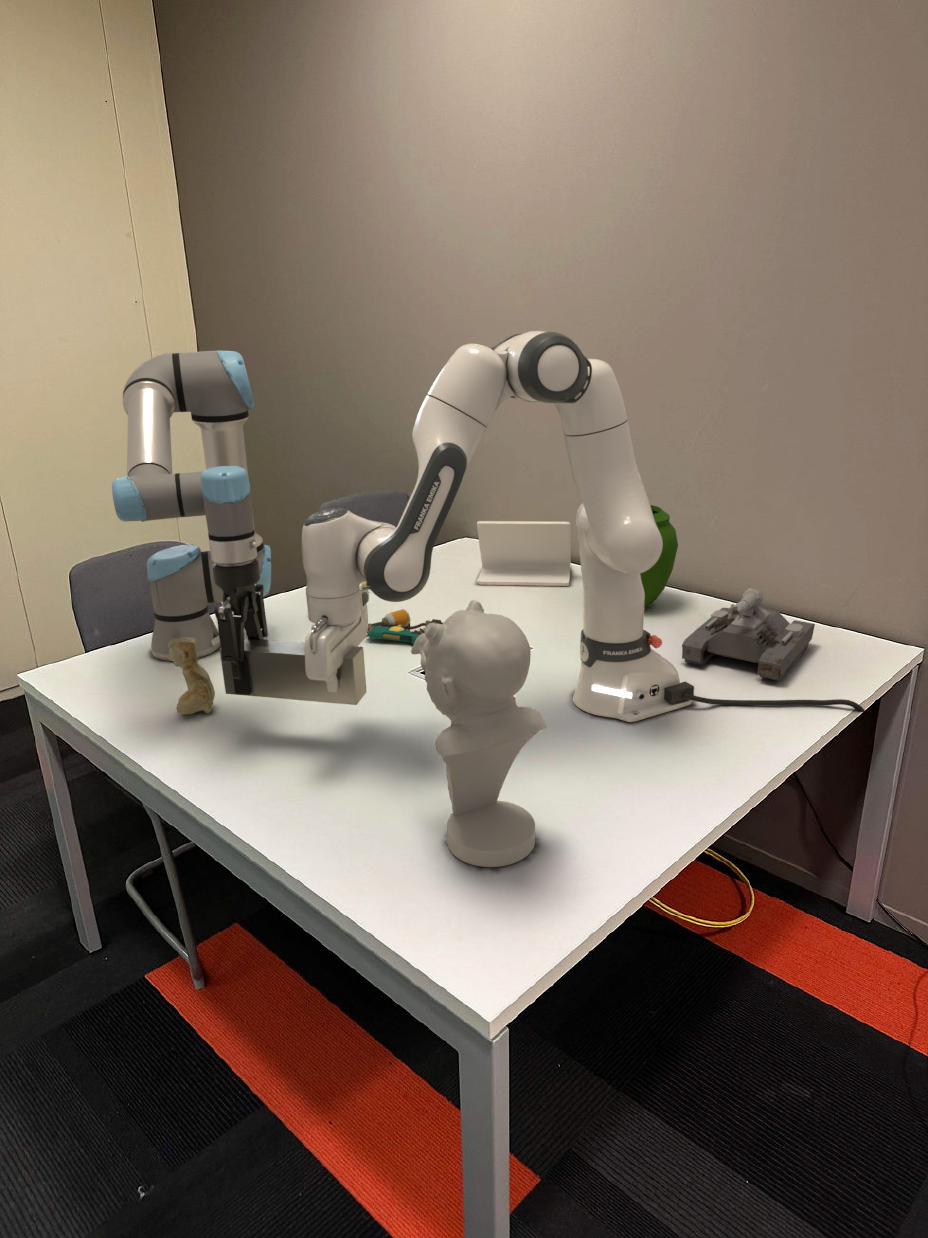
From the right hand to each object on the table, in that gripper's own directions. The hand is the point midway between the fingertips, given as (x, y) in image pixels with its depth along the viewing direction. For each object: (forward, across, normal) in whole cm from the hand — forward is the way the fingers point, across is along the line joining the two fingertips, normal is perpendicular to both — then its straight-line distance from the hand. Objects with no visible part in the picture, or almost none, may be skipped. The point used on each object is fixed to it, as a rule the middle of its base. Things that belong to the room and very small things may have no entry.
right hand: (341, 682), depth 146 cm
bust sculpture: (+12, -22, -27) cm, 37 cm away
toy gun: (+12, +92, +23) cm, 95 cm away
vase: (+12, +81, -46) cm, 94 cm away
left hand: (+2, 0, +17) cm, 17 cm away
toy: (+12, +52, -71) cm, 89 cm away
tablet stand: (+12, +101, -15) cm, 103 cm away
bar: (+3, 0, +9) cm, 9 cm away
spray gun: (+12, +51, +4) cm, 53 cm away
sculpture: (+12, +7, +33) cm, 36 cm away
